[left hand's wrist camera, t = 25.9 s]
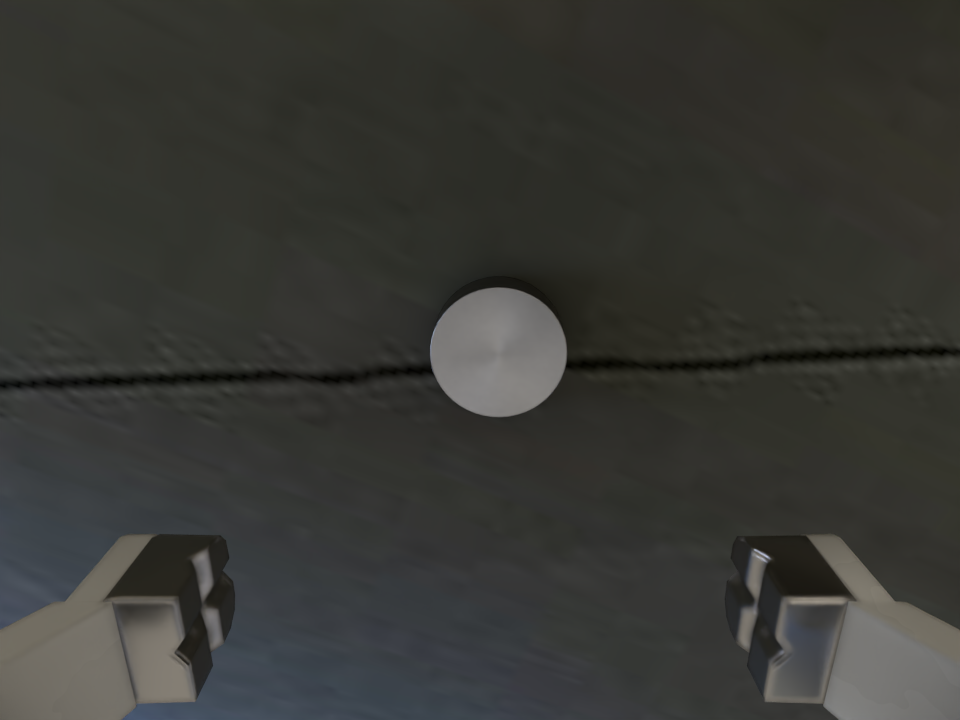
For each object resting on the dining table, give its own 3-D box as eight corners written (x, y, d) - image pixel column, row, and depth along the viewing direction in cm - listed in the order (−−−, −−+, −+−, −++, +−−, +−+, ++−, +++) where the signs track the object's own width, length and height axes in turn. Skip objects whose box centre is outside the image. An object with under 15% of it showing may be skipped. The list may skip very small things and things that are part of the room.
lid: (412, 363, 25) (406, 380, 23) (471, 252, 24) (469, 261, 22) (523, 419, 26) (524, 439, 24) (587, 314, 24) (593, 327, 23)
